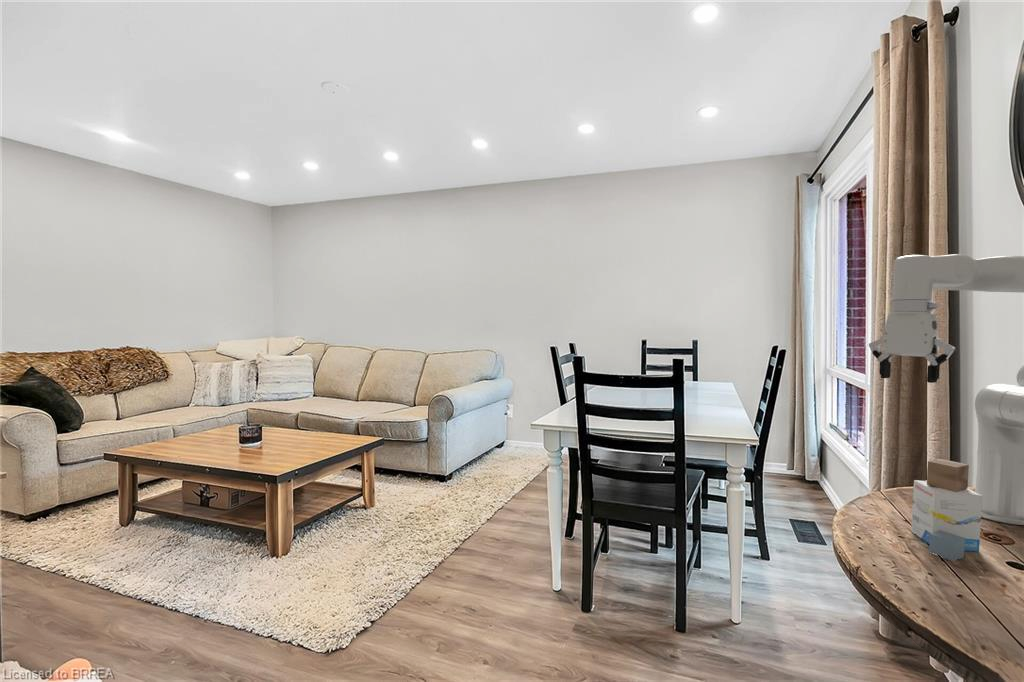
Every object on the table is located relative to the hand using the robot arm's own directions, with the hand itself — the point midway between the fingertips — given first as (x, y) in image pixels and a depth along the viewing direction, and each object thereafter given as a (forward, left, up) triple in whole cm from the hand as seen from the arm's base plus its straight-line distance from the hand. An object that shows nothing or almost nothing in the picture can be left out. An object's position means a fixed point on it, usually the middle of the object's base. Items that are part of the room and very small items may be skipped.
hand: (907, 380), depth 124 cm
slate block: (+18, +17, -32) cm, 40 cm away
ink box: (+10, +13, -32) cm, 36 cm away
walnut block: (+11, +13, -20) cm, 27 cm away
